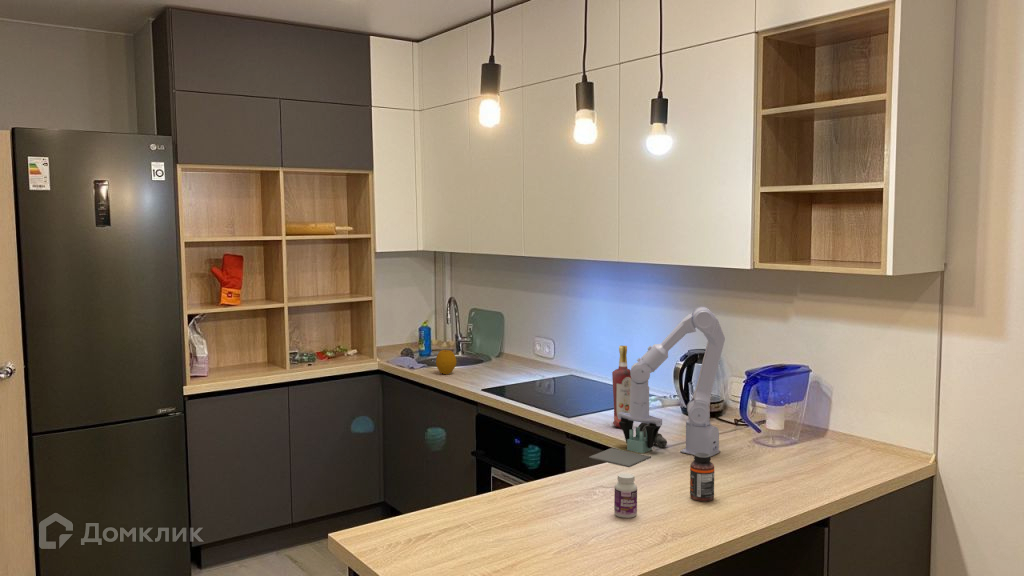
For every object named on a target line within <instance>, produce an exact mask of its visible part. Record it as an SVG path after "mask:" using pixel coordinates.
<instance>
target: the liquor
mask: <svg viewBox="0 0 1024 576" xmlns="http://www.w3.org/2000/svg"><path fill="white" fill-rule="evenodd" d="M618 352H619V359H618V368H615V370H613V371H612V372H611V375H612V376H611V377H612V395H613V421H612V424H613V425H614V426H615V427H616V428H617V429H621V430H622V428H621V426H620V425H619V422H620V421H621V419H618V413H620V412H626V413H630V387H631V379H632V378H631V375H630V370H631V368H628V359H627V353H628V346H627V345H619V346H618Z"/></svg>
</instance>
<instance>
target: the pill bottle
mask: <svg viewBox="0 0 1024 576" xmlns="http://www.w3.org/2000/svg"><path fill="white" fill-rule="evenodd" d="M613 495H614V498H613V500H614V501H613V502H614V507H613V508H614V509H613V510H614V516H616V517H618V518H624V519H631V518H635V517H636V516H637V513H638V486H637V484H636V483H635V475H634V474H633V473H629V472H620V473H618V474H617V482H616V483H615V485H614V494H613Z"/></svg>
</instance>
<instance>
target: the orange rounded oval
mask: <svg viewBox="0 0 1024 576" xmlns="http://www.w3.org/2000/svg"><path fill="white" fill-rule="evenodd" d="M456 357H457V356H456V355H455V353H454V352H453V351H452V350H449V349H443V350H440V351H439V352H438V353H437V355H436V357H435V365H436V368H437V370H438V371H439V374H441V373H443V374H448V375H450V374H451V373H453V371H454V369H455V368H456V366H457V358H456ZM449 373H450V374H449ZM443 374H442V375H443Z"/></svg>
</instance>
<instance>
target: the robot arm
mask: <svg viewBox="0 0 1024 576" xmlns="http://www.w3.org/2000/svg"><path fill="white" fill-rule="evenodd" d="M696 329H698V330H699V331H700V332H701V333H702V334H703V336H705V337H704V338H706V340H707V343H706V347H705V350H704V351H705V352H704V356H703V359H702V361H701V362H702V363H701V367H700V371H699V374H698V379H697V382H696V387H695V389H694V392H693V393H692V394H693V395H692V398H691V399H690V400H689V401H688V403H687V405H686V411H687V414H688V415H687V416H688V418H687V419H686V420H685V448H683V449H681V450H679V452H680V453H682V454H683V453H684V454H688V455H693V456H694V454H695V453H708V454H710V456H711V457H712V456H715V455H716V454H719V453H720V452H721V451H720V431H719V428H718V427H717V426H716V425H713V424H711V421H710V418H711V416H710V415H711V414H710V404H711V395H712V390H713V388H714V384H715V379H716V377H717V376H716V375H717V372H718V368H719V364H720V359H721V356H722V352H723V349H724V344H725V341H726V340H725V339H726V338H725V335H724V332H723V330H722V327H721V324H720V322H719V319H718V318H717V316H716V315H715V314H714V313H713V312H712V310H711V309H709V308H708V307H706V306H698V307H695V309H694V310H693V311H692V313H689V314H687V315H686V316H685V317H684V318H683V319H682V320H681V321H680V322H679V323H678V324H677V325H676V326H675V327H674V329H673V330H672V331H671V332H670V333H669V334H668V335H666V337H665V338H664V340H663V341H662V342H661V343H654V344H653V345H652V346H651V345H649V346H648V347H647V351H646V352H645V353H644V354H643V355H642V356H641V357H638V358H637V359H636V361H637V362H635V363H634V364H632V366H631V367H630V375H631V378H632V379H631V387H630V413H626V412H620V413H618V419H621V421H620V422H619V425H620V426H621V428H622V429H621V428H620V429H621V431H622V432H623V435H624V439H625V443H626V445H627V439H630V429H633V427H634V422H635V423H640V424H641V423H647V424H649V425H648V426H646V431H647V445H648V448H652V449H653V448H654V444H655V443H654V441H655V437H656V435H657V433H658V434H659V430H660V429H661V428H662V426H663V418H659V417H656V416H654V415H650V387H649V380H650V378H651V377H650V376H651V374H652V373H655V372H656V371H657V369H658V368H659V367H660V366H661V365H663V363H664V362H665V361H666V360H667V359H668V358H669V351H670V350H671V349H672V348H674V346H675V345H677V343H678V342H679V341H681V339H683V337H685V336H686V335H687V334H691V333H696V332H697V330H696Z"/></svg>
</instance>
